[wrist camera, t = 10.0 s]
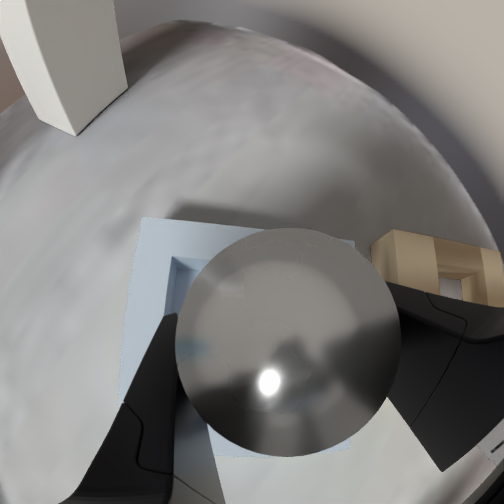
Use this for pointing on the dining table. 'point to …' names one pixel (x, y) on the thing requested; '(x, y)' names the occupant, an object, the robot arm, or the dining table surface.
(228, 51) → the dining table surface
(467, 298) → the tan rectangular frame
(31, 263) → the dining table surface
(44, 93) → the milk carton
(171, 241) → the seat block
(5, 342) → the dining table surface
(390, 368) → the steel axle
